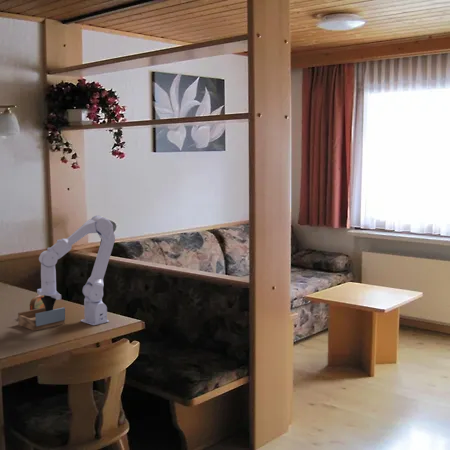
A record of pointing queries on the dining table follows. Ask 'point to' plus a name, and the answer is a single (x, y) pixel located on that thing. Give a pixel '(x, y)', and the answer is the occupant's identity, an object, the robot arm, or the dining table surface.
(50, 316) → the panel
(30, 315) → the light wood shallow box
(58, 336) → the dining table surface
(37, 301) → the tin
